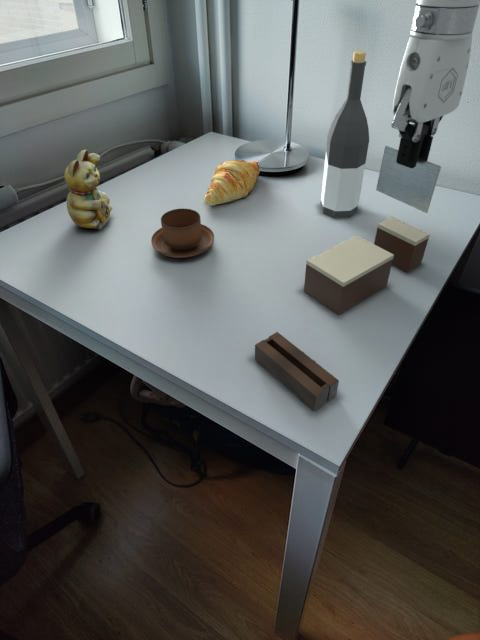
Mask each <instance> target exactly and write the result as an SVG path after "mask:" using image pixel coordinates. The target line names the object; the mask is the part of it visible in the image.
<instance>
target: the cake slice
mask: <svg viewBox="0 0 480 640" xmlns="http://www.w3.org/2000/svg"><path fill="white" fill-rule="evenodd" d="M376 228H377V229H376V232H375V237H374V242H373V244H374V245H376V246H378V247H380V248H382V249H384V250H386V251H388V252H390V253H392V254H393V255H394V257H393V262H392V266H394V267H396V268H397V269H400V270H401V271H403V272H405V273H407V274H409V273H410V272H412V271H413V270H415V269H416V268H418V267H420V266H421V265H422V264H423V260H424V256H425V253H426V249H427V246H428V243H429V239H430V235H431V234H430V232H429V233H428V232H427V231H424V230H422V229H420V228H418V227H416V226H413V225H411V224H409V223H408V222H405V221H402V220H400V219H399V218H396V217H394V216H391V217H389V218H386V219H385V220H383V221H380V222H378V223H377V227H376Z"/></svg>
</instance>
